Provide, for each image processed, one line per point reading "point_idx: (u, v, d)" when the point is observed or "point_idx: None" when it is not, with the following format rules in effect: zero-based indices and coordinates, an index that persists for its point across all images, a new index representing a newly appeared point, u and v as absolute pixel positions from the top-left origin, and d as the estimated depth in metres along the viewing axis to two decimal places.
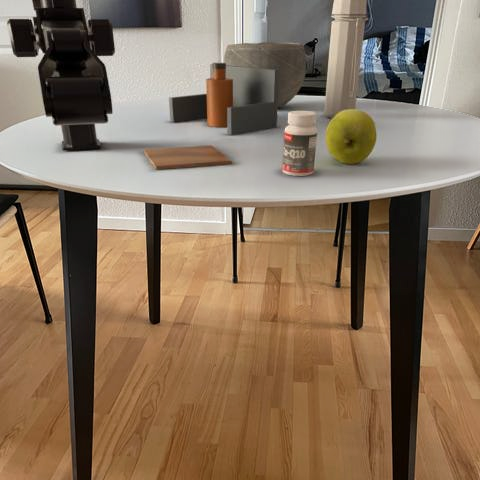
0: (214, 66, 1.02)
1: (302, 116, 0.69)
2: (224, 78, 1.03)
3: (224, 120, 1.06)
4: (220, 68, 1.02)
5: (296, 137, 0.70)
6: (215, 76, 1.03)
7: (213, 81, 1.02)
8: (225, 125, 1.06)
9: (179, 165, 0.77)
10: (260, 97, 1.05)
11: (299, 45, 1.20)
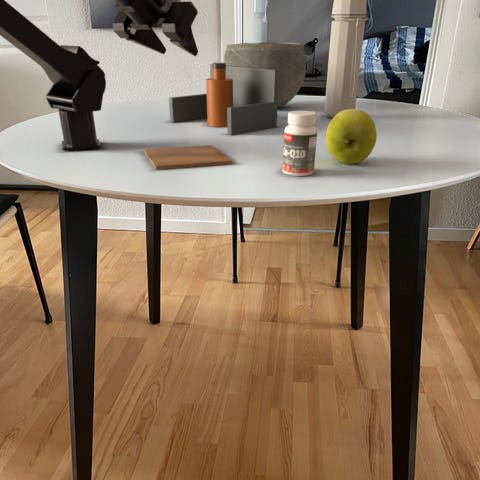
0: (214, 66, 1.02)
1: (302, 116, 0.69)
2: (224, 78, 1.03)
3: (224, 120, 1.06)
4: (220, 68, 1.02)
5: (296, 137, 0.70)
6: (215, 76, 1.03)
7: (213, 81, 1.02)
8: (225, 125, 1.06)
9: (179, 165, 0.77)
10: (260, 97, 1.05)
11: (299, 45, 1.20)
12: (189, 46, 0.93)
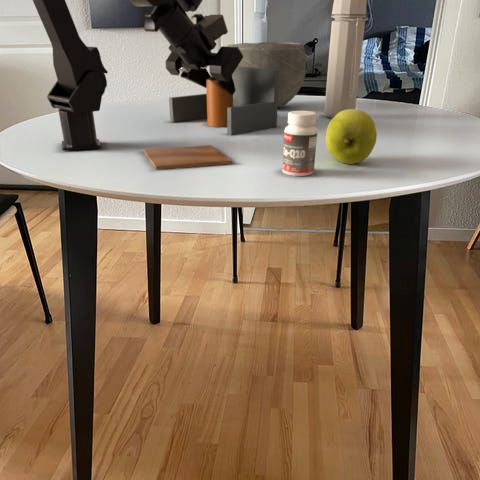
0: None
1: (302, 116, 0.69)
2: None
3: (224, 120, 1.06)
4: None
5: (296, 137, 0.70)
6: None
7: None
8: (225, 125, 1.06)
9: (179, 165, 0.77)
10: (260, 97, 1.05)
11: (299, 45, 1.20)
12: (227, 85, 1.01)
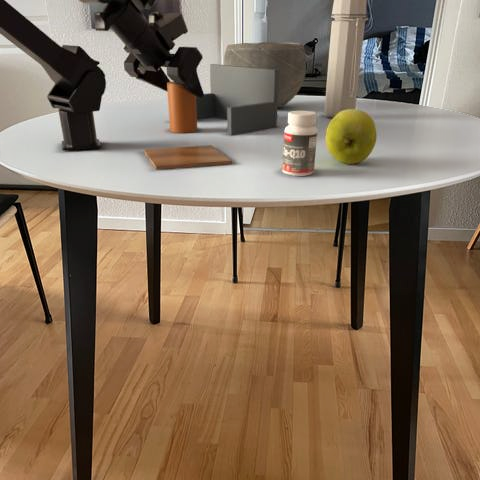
0: None
1: (302, 116, 0.69)
2: None
3: (187, 126, 1.00)
4: None
5: (296, 137, 0.70)
6: None
7: (173, 85, 0.96)
8: (188, 131, 1.01)
9: (179, 165, 0.77)
10: (260, 97, 1.05)
11: (299, 45, 1.20)
12: (194, 89, 0.94)
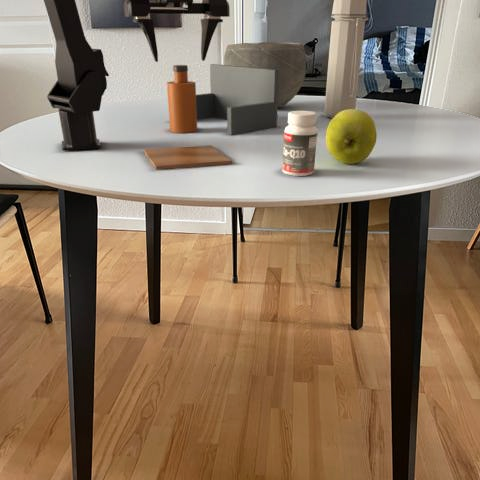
0: (174, 69, 0.96)
1: (302, 116, 0.69)
2: (186, 81, 0.98)
3: (187, 126, 1.00)
4: (181, 71, 0.96)
5: (296, 137, 0.70)
6: (176, 79, 0.97)
7: (173, 85, 0.96)
8: (188, 131, 1.01)
9: (179, 165, 0.77)
10: (260, 97, 1.05)
11: (299, 45, 1.20)
12: None
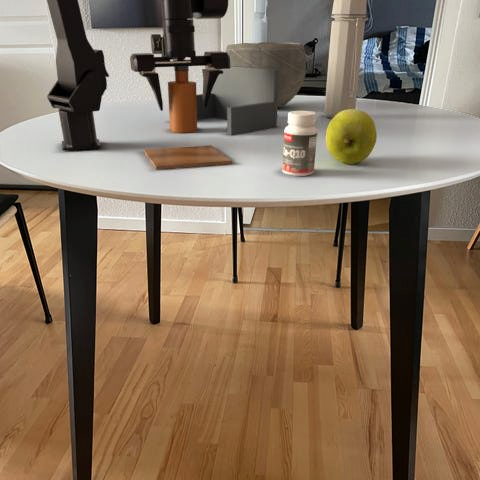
0: (175, 68, 0.96)
1: (302, 116, 0.69)
2: (186, 81, 0.98)
3: (187, 125, 1.00)
4: (182, 71, 0.96)
5: (296, 137, 0.70)
6: (177, 79, 0.97)
7: (174, 84, 0.96)
8: (188, 131, 1.01)
9: (179, 165, 0.77)
10: (260, 97, 1.05)
11: (299, 45, 1.20)
12: None
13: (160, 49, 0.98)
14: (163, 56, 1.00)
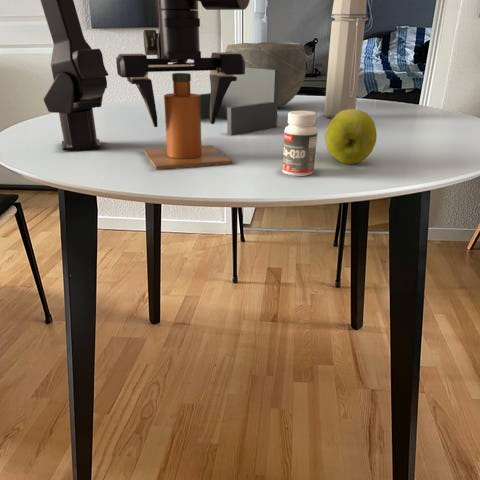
0: (174, 78, 0.75)
1: (302, 116, 0.69)
2: (188, 94, 0.77)
3: (188, 150, 0.79)
4: (182, 81, 0.75)
5: (296, 137, 0.70)
6: (176, 91, 0.76)
7: (172, 98, 0.75)
8: (190, 156, 0.80)
9: (179, 165, 0.77)
10: (260, 97, 1.05)
11: (299, 45, 1.20)
12: None
13: (155, 49, 0.77)
14: (159, 58, 0.79)
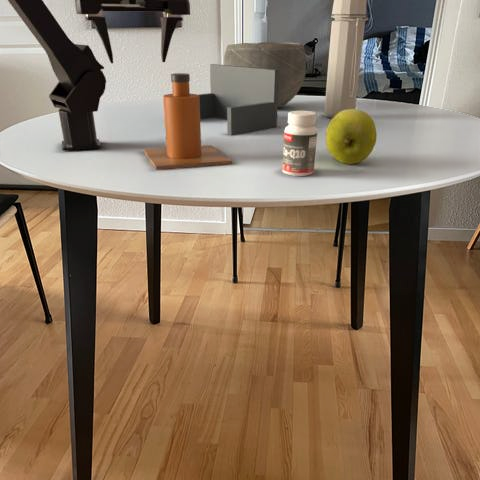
0: (173, 78, 0.75)
1: (302, 116, 0.69)
2: (187, 94, 0.76)
3: (188, 150, 0.79)
4: (181, 81, 0.75)
5: (296, 137, 0.70)
6: (175, 92, 0.76)
7: (171, 99, 0.75)
8: (190, 157, 0.80)
9: (179, 165, 0.77)
10: (260, 97, 1.05)
11: (299, 45, 1.20)
12: None
13: None
14: None
